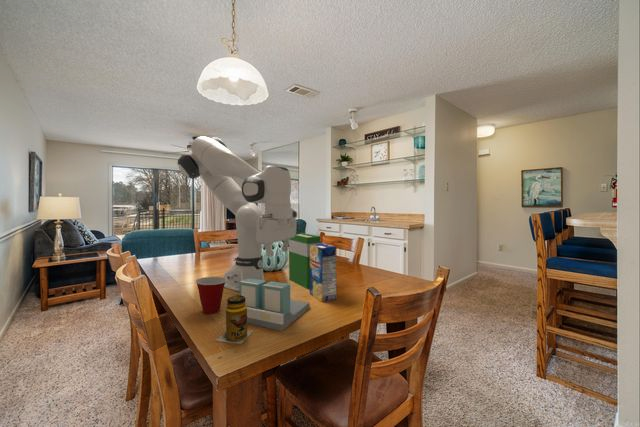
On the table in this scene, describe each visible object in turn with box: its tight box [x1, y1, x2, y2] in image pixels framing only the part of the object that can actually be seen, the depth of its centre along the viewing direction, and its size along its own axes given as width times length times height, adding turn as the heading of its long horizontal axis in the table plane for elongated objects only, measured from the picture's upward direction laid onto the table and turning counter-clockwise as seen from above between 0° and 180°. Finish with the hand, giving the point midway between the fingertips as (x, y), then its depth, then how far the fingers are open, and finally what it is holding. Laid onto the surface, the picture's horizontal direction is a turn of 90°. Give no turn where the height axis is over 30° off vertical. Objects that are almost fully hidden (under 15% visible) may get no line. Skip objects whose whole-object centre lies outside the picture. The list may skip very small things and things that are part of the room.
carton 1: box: [238, 278, 267, 310], centre depth 96 cm, size 8×5×10 cm, turn 66°
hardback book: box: [288, 232, 321, 290], centre depth 133 cm, size 18×7×24 cm, turn 35°
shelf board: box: [247, 298, 311, 332], centre depth 97 cm, size 20×20×5 cm
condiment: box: [215, 294, 253, 345], centre depth 81 cm, size 7×8×12 cm
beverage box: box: [309, 242, 338, 303], centre depth 114 cm, size 7×11×22 cm, turn 29°
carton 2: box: [262, 281, 291, 318], centre depth 92 cm, size 8×5×10 cm, turn 66°
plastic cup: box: [195, 276, 227, 315], centre depth 99 cm, size 11×11×12 cm
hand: (277, 253), depth 92 cm, fingers open, 8 cm apart
